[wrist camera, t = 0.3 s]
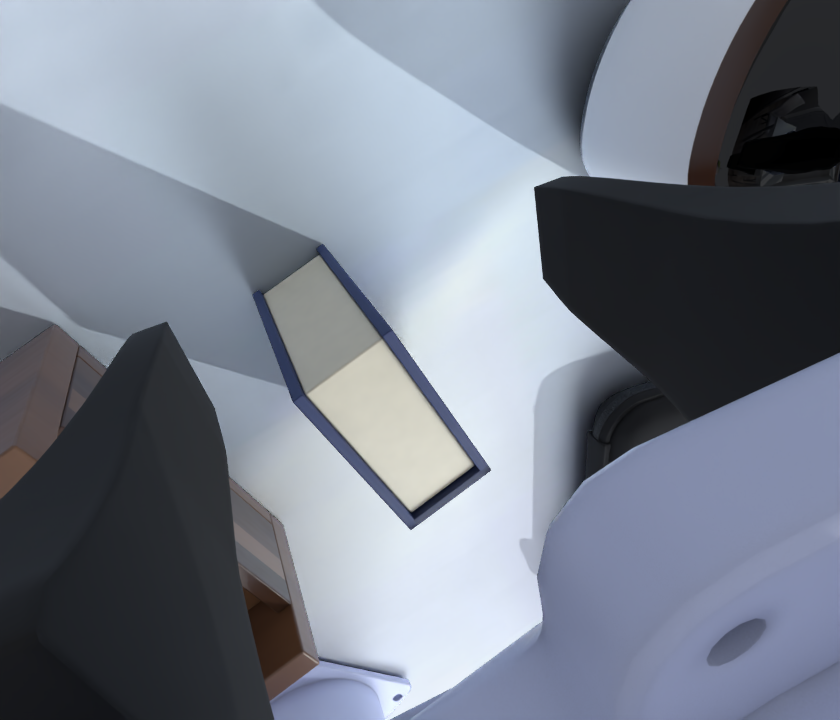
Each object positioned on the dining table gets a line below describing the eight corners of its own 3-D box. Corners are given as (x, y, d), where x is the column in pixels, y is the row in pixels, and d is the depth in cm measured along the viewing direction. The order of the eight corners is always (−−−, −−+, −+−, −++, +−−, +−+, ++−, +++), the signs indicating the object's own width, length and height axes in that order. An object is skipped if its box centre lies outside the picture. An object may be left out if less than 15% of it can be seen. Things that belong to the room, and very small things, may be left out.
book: (346, 405, 25) (411, 530, 18) (252, 294, 21) (292, 401, 15) (406, 360, 25) (491, 470, 19) (322, 243, 21) (391, 329, 15)
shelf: (157, 617, 26) (159, 785, 20) (-119, 445, 19) (-236, 624, 13) (284, 524, 26) (321, 664, 20) (55, 322, 19) (13, 445, 14)
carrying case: (557, 391, 28) (551, 605, 36) (597, 427, 26) (581, 649, 33) (740, 336, 31) (700, 544, 39) (792, 363, 29) (738, 580, 36)
